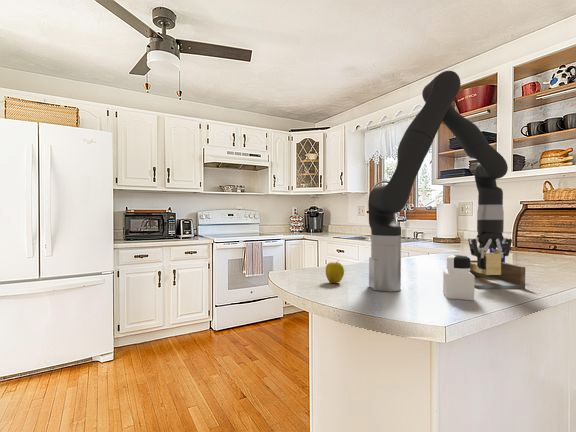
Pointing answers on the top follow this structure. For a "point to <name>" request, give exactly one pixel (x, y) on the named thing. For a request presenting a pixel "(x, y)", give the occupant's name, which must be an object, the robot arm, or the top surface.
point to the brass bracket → (489, 264)
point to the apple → (334, 272)
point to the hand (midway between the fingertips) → (489, 268)
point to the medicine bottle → (458, 278)
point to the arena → (501, 278)
